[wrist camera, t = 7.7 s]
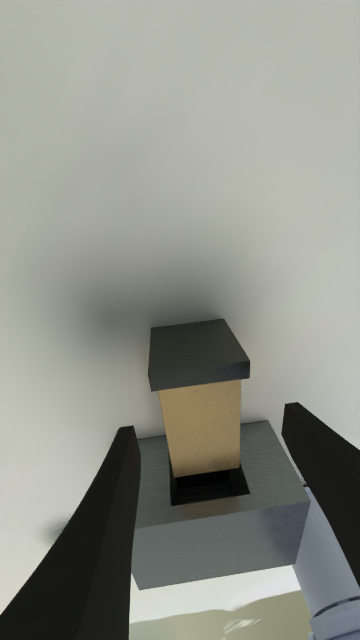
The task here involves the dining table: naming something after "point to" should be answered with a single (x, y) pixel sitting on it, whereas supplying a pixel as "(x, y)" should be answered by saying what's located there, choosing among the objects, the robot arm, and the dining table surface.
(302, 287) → the dining table surface
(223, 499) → the housing
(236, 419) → the sliding drawer
